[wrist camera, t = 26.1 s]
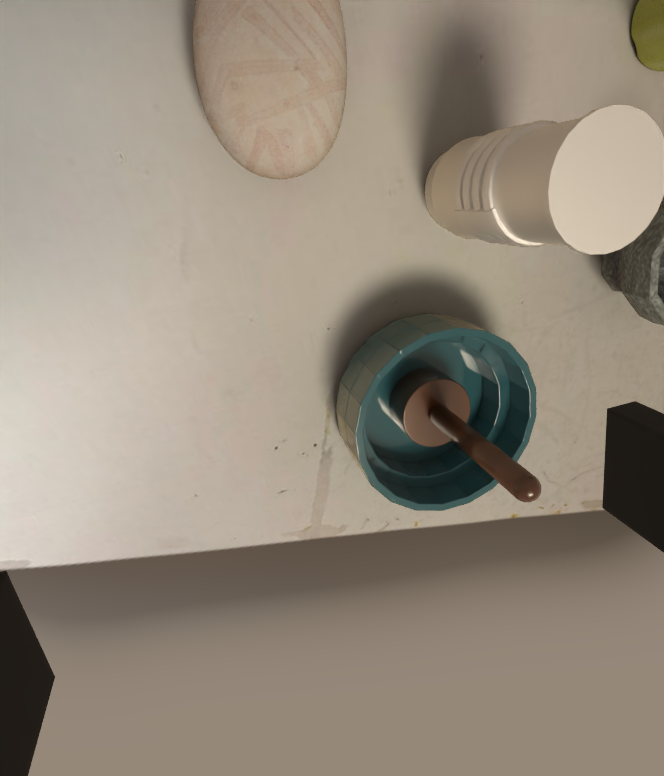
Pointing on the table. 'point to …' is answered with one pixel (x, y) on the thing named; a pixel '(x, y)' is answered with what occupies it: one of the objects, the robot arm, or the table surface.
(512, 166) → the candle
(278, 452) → the table surface
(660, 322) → the mortar and pestle
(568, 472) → the table surface
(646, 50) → the plant pot
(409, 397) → the wooden peg stand
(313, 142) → the decorative stone
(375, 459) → the bowl
